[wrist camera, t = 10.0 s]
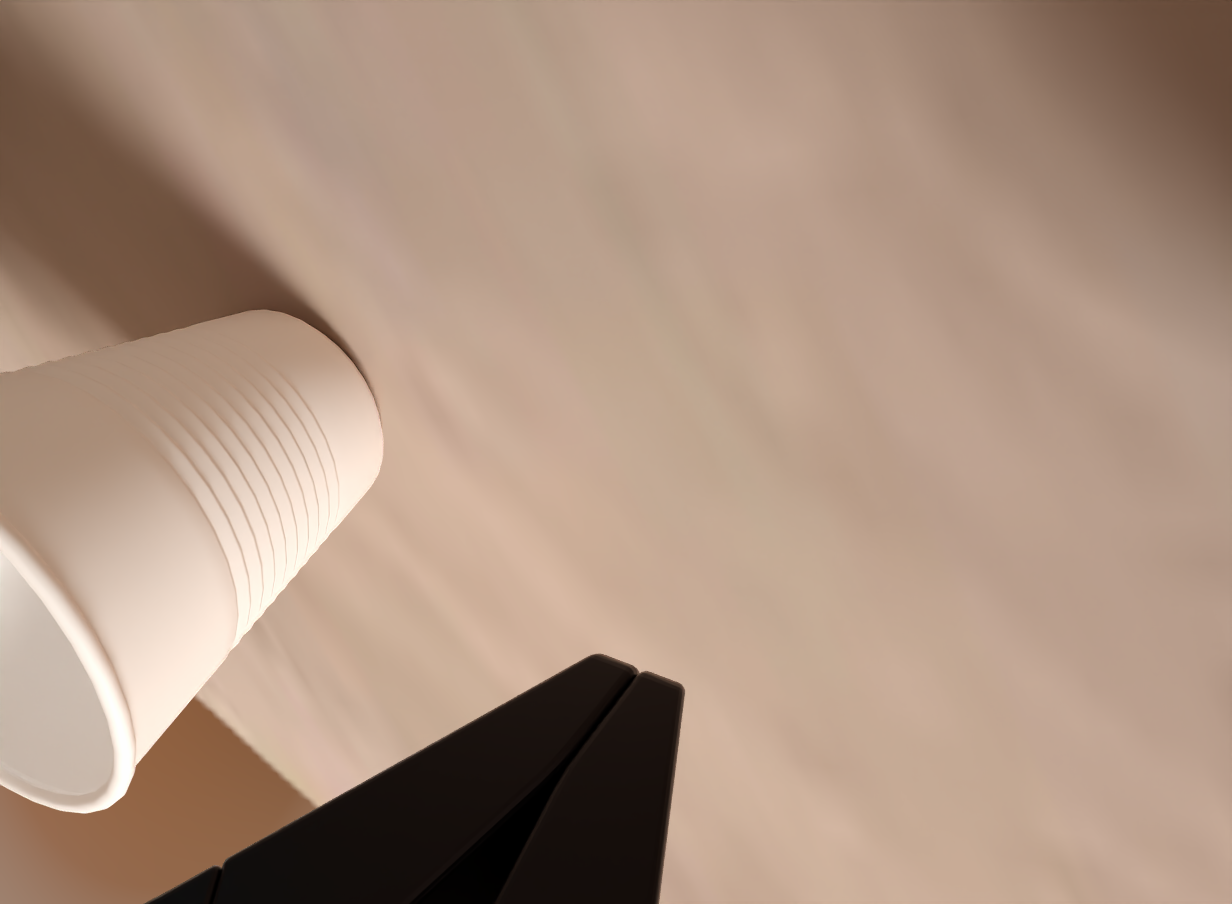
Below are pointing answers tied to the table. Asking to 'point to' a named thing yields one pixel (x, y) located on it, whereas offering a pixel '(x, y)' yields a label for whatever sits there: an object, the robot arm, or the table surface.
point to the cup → (158, 529)
